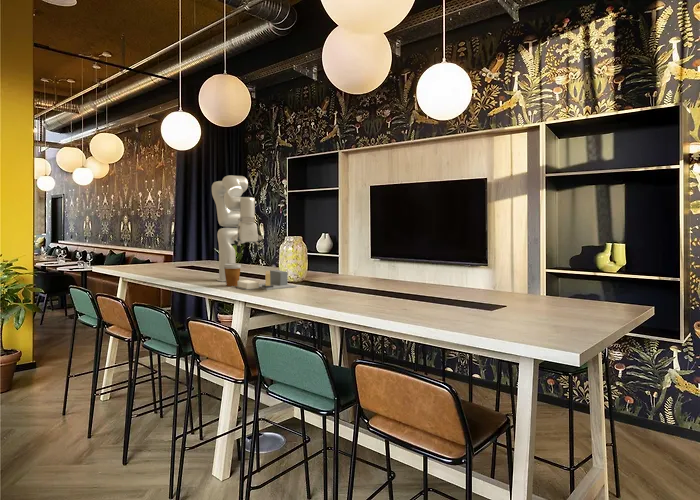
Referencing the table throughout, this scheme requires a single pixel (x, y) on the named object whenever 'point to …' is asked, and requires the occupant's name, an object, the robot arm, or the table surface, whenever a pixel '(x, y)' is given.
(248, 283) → the cover
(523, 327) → the table surface
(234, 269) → the disposable coffee cup
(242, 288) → the mat
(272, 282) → the housing
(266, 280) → the tan rectangular wooden board
